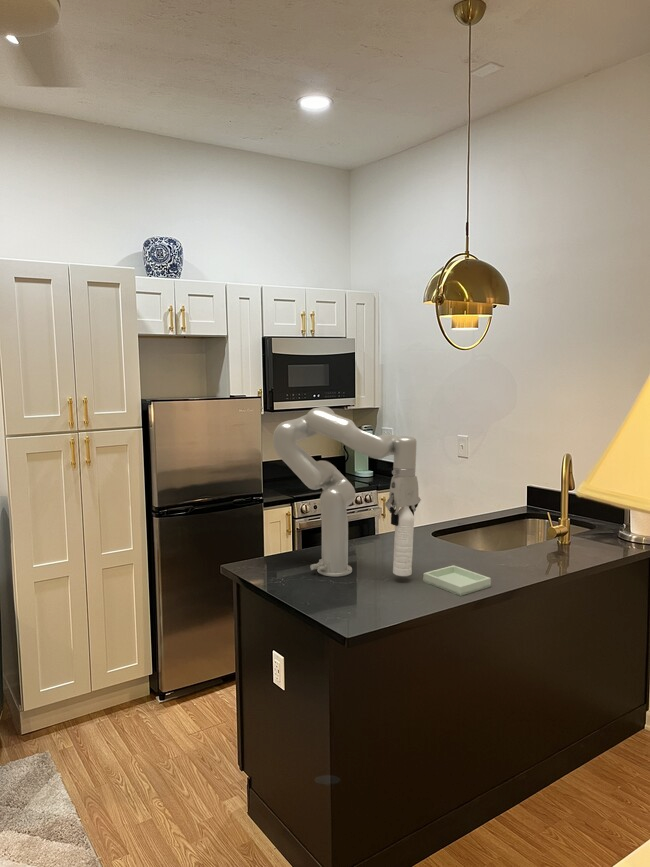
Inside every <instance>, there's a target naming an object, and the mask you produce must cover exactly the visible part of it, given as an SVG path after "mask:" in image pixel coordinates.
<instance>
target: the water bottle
mask: <svg viewBox="0 0 650 867" xmlns="http://www.w3.org/2000/svg"><path fill="white" fill-rule="evenodd" d="M397 514H398V515H399V521H398V526H395V525H394V538H393V539H394V540H393V541H394V542H393V543H394V544H393V566H392V573H393V574H394V575H395V576H399V577H410V576H411V575H412V573H413V572H412V571H413V568H412V566H413V554H414V553H413V552H414V550H413V549H414V546H413V544H414V532H415V531H414V530H415V529H414V528H415V527H414V525H415V514H414V515H413V514H412V512H411V510H410V509H409V506H405V507H400V508H399V511H398V513H397Z"/></svg>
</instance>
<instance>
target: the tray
mask: <svg viewBox="0 0 650 867" xmlns="http://www.w3.org/2000/svg"><path fill="white" fill-rule="evenodd" d="M422 575H423V577H422V581H423V583H425V584H429V585H430V586H431V585H432V586H434V587H436V588H438V589H441V590H444V591H445V592H446V591H447V592H450V593H452V594H454V595H456V594H457V595H456V596H459V597H462V596H465V595H469V594H472V593H474V592H478V591H481V590H484V589H487V588H491V586H492V578H491V577H489V576H486V575H483V574H481V573H478V572H474V571H471V570H469V569H465V568H463V567H459V566H457V565H455V564H453V565H449V566H446V567H442V568H438V569H435V570H429V571H427V572H424V573H423V574H422Z"/></svg>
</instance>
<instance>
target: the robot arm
mask: <svg viewBox="0 0 650 867" xmlns="http://www.w3.org/2000/svg"><path fill="white" fill-rule="evenodd" d="M318 434H320V435H322V436H325V437H327V438H330V439H333V440H335V441H337V442H340V443H341V444H344V445H345V446H346V447H348V448H349V449H351V450H353V451H355V452H357V453H360V454H361V455H365V456H367V457H370V458H373V459H376V460H377V459H379V460H380V459H384V458H386V457H388V456H393V466H392V468H393V470H391V474H392V475H393V476H391V480H390V486H389V497H388V499H387V500H386V501H385V503H384V506H385V508H386V509H387V511H389V513H390V515H391V516H390V524H391V525H392V526H394V527H395V526H398V521H399V515H398V514H397V513H398V511H399V510H400V509H401V507H405V506H409V509H410V510H411V512H412V514H413V515H414V516H415V512H416V510H417V508H418V506H419V504H420V503H421V501H422V499H421V498H420V496H419V482H418V476H417V475H416V467H417V466H416V465H417V464H416V462H417V439H416V437H413V436H405V435H404V436H403V435H401V436H400V435H399V436H398V435H393V434H390V433H389V434H388V433H384V434H380V435H375V434H373V433H372V434H371V433H369V432H367V431H364V430H362V429H360V428H359V427H358V426H357V425H356V424H355V422H354V421H353V420H351V419H350V418H347V417H344V416H342V415H339V414H336V413H335V411H334V410H333V409H332V408H330V407H328V406H318V407H314V408H312V409H310V410H309V411H308V412H307V413H306V414H304V415H302V416H300V417H298V418H294V419H289V420H285V421H282V422H280V423H279V424H278V425H277V426H276V427H275V429H274V431H273V435H272V446H273V448H274V451H275V452H276V454H277V455H278V457H279V458H280V459H281V460H282V462H283V463H285V464H286V465H287V467H288V468H289V469H290V470H291V471H292V472H293V473H294V474H295V475H296V476H297V477H298V478H299V479H300V480H301V482H302V483H303V484H304V485H305V486H306V487H307V488H308V489H310V490H315V491H316V490H320V489H322V490H323V491H322V492H321V494H320V496H319V508H320V516H321V517H320V518H321V559H318V562H317V563H313V564H310V570H311V571H314V570H317V572H318V574H320V575H321V576H327V577H335V578H336V577H345V576H348V575H350V574H351V573H352V572H353V568H352V566H351V565H349V518H348V512H347V507H348V506H350V505H351V504H353V502H354V500H355V499H356V490H355V487H354V486H353V485H352V483H351V482H350V481H349V480H348V479H347V478H346V477H345V476H344V475H343V474H342V473H341V471H340V470H338V469H337V468H338V467H336V466H335V465H334V464H332V463H331V462H330V461H328V460H315V459H314V458H313V457H312V456H311V455H310V454H309V453H308V451H306V450H305V449H304V448H303V447H301V446H300V445H299V444H298V443H299V442H303V441H306V440H308V439H309V438H311V437H314V436H316V435H318Z"/></svg>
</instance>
